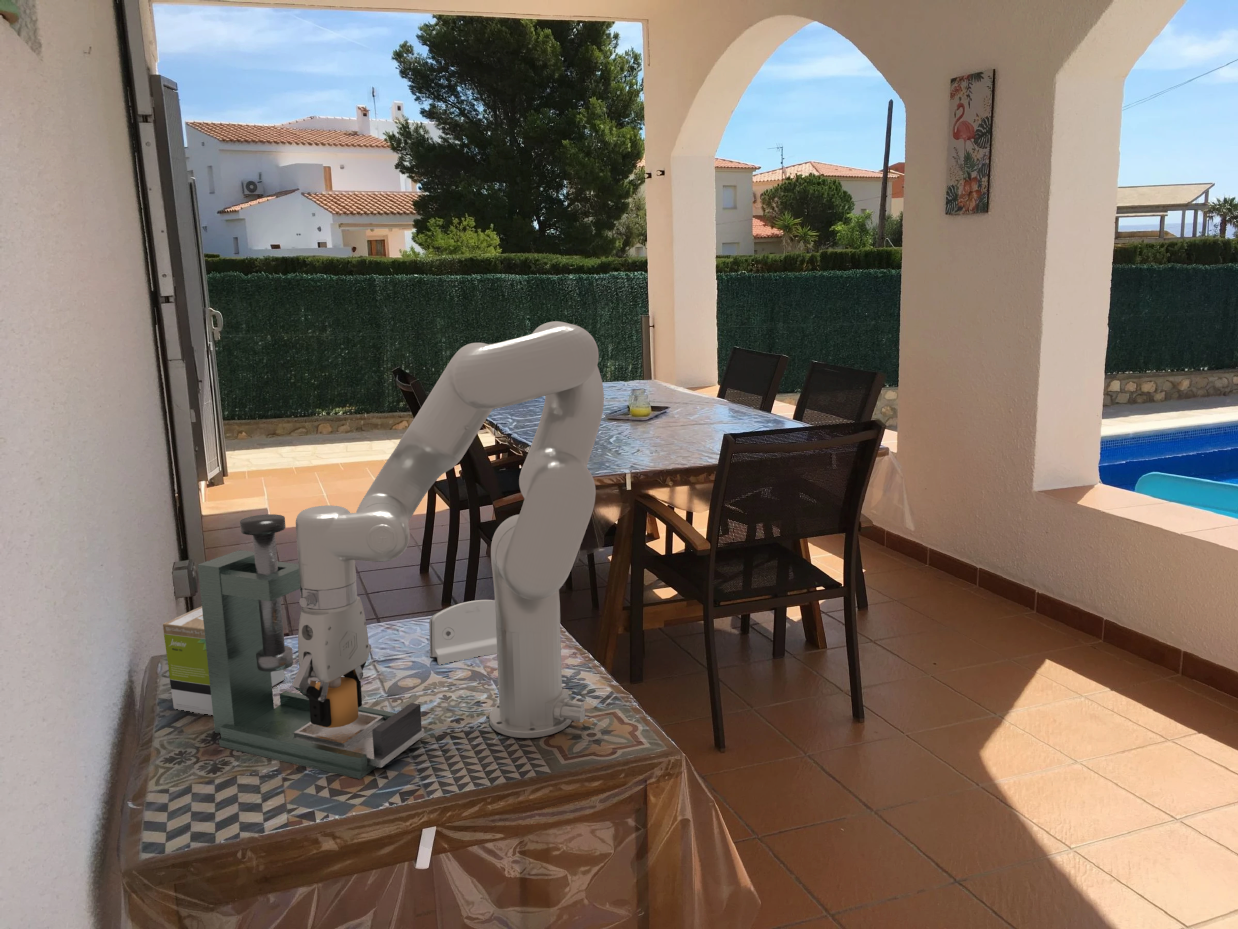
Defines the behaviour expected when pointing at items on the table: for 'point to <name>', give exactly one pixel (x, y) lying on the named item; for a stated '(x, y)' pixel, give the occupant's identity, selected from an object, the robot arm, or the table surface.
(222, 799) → the table surface
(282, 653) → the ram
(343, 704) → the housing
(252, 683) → the press
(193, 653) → the tea box
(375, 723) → the sliding bed
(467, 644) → the hinge
